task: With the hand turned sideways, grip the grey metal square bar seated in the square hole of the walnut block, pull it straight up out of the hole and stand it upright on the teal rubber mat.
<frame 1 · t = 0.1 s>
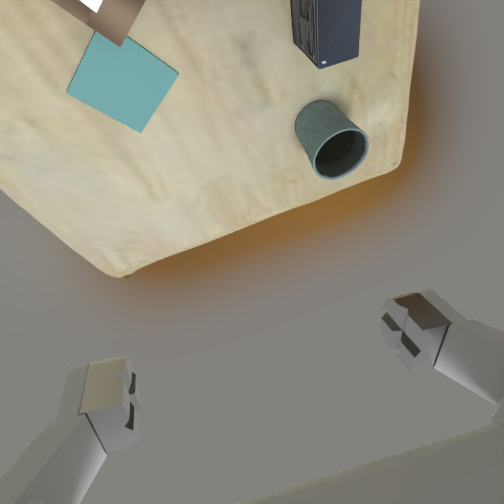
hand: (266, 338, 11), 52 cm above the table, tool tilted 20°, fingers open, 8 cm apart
grey-green cup: (315, 119, 66), on the table
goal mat: (123, 81, 52), on the table
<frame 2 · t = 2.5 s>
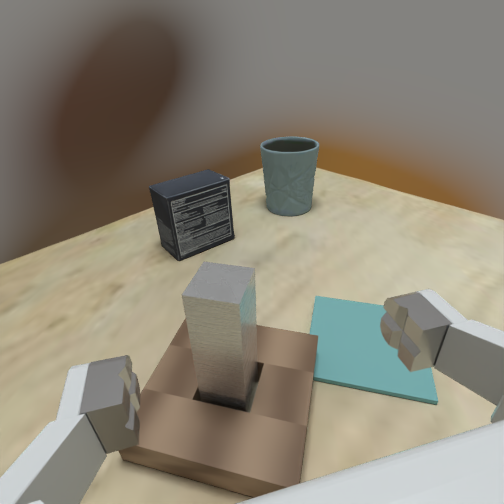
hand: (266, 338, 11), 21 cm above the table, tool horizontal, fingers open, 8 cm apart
grey-green cup: (287, 207, 66), on the table
metal bar: (226, 349, 28), in the socket block
small box: (198, 243, 56), on the table
socket block: (231, 401, 31), on the table
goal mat: (365, 342, 37), on the table
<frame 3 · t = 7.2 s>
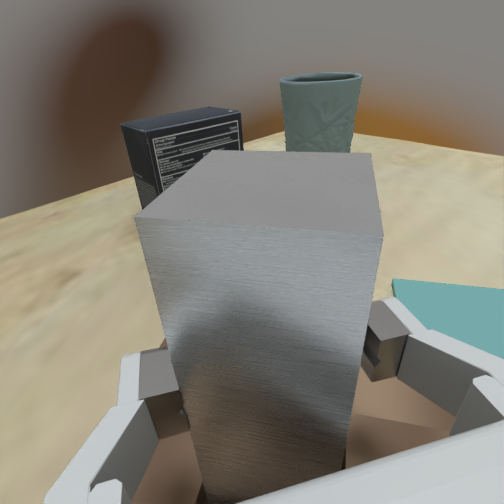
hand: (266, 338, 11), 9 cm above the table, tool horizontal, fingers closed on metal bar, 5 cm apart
grey-green cup: (315, 170, 49), on the table
metal bar: (276, 393, 11), in the socket block, touching gripper
small box: (197, 213, 39), on the table
socket block: (277, 496, 14), on the table
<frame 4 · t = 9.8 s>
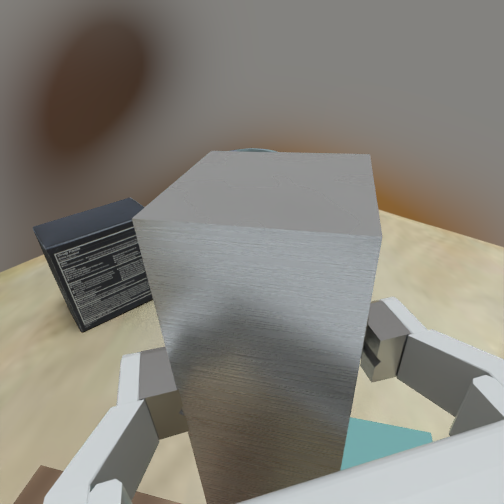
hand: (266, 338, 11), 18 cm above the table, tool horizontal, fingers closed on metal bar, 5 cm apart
metal bar: (275, 394, 11), point 16 cm above the table, touching gripper
small box: (119, 298, 40), on the table
when the fingers open (10 cm above the table, at t = 12.3 s): metal bar drops 1 cm, resting on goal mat.
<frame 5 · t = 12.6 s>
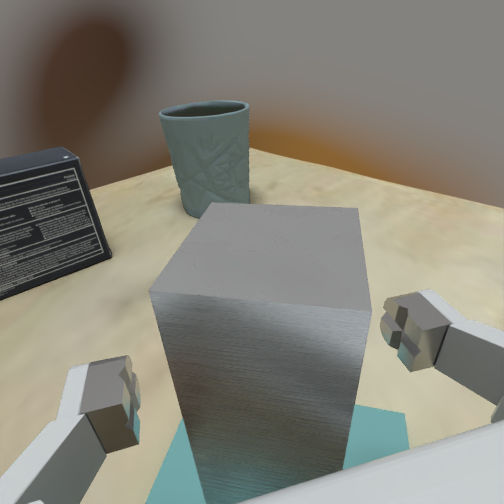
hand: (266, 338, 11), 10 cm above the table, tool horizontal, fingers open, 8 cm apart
grey-green cup: (215, 206, 45), on the table
metal bar: (274, 422, 11), on the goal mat
small box: (52, 266, 35), on the table
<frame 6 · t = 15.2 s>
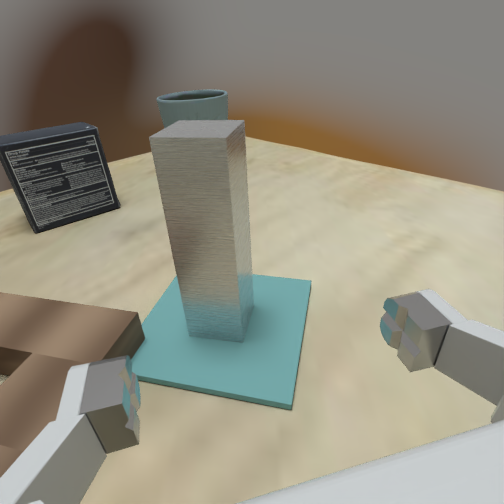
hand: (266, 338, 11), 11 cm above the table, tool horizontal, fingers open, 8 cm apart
grey-green cup: (202, 175, 55), on the table
metal bar: (213, 240, 22), on the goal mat
small box: (74, 214, 45), on the table
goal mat: (224, 323, 26), on the table
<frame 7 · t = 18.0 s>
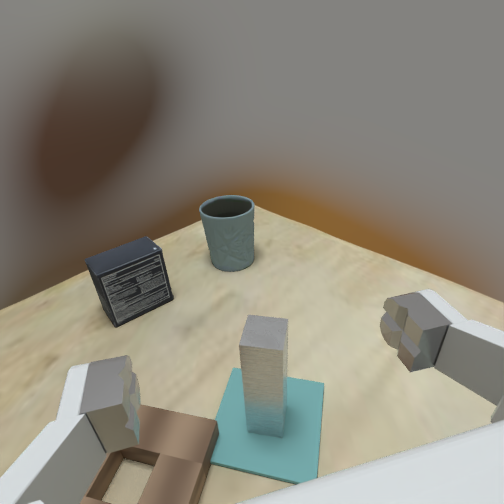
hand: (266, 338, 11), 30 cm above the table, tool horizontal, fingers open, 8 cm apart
grey-green cup: (231, 260, 69), on the table
metal bar: (266, 379, 36), on the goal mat
small box: (139, 304, 59), on the table
socket block: (132, 488, 34), on the table
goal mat: (268, 420, 40), on the table
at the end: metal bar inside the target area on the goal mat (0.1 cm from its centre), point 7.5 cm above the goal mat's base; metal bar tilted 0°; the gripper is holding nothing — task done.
